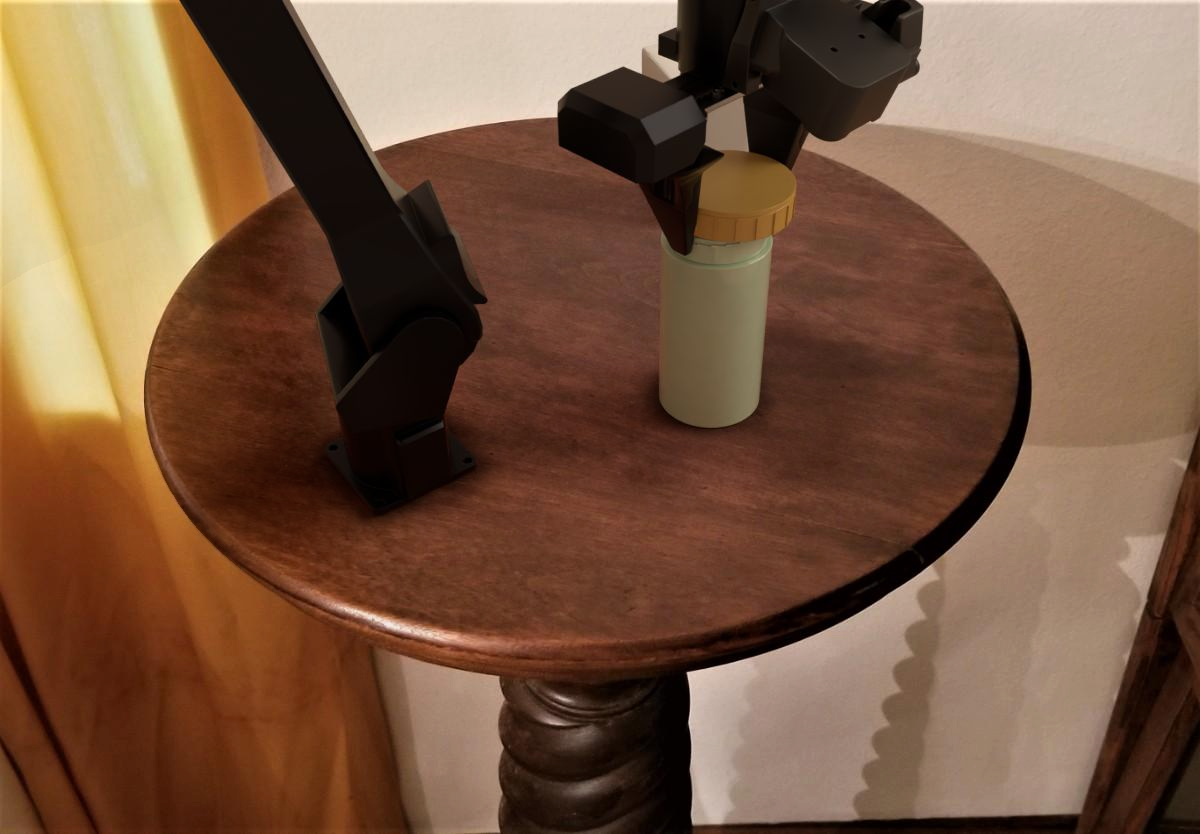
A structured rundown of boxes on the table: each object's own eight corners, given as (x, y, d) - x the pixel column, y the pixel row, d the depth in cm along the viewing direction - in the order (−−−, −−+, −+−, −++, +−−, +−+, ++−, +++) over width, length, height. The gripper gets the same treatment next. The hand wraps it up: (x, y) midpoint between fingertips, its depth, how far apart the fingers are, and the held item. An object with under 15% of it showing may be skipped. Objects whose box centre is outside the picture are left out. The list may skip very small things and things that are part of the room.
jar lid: (811, 235, 58) (814, 206, 57) (680, 249, 58) (681, 219, 56) (772, 172, 64) (775, 144, 62) (651, 183, 63) (652, 155, 62)
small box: (747, 214, 85) (758, 78, 78) (676, 227, 83) (680, 90, 76) (706, 164, 90) (713, 34, 84) (639, 176, 89) (640, 44, 82)
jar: (638, 394, 69) (637, 212, 61) (707, 352, 72) (716, 173, 64) (710, 442, 66) (719, 257, 57) (780, 396, 68) (798, 213, 60)
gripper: (744, 35, 42) (722, 370, 52) (1015, -85, 52) (952, 218, 62) (541, -39, 48) (556, 274, 58) (818, -133, 58) (789, 149, 68)
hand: (724, 227), depth 61 cm, fingers closed on jar lid, 6 cm apart
